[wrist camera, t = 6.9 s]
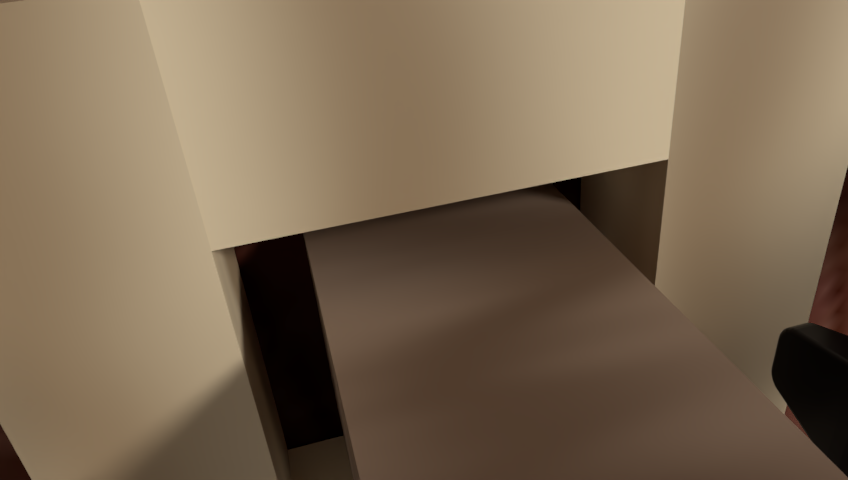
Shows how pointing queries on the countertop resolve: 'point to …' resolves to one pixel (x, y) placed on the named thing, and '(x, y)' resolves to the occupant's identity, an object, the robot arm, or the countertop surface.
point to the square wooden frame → (374, 185)
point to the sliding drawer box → (529, 356)
